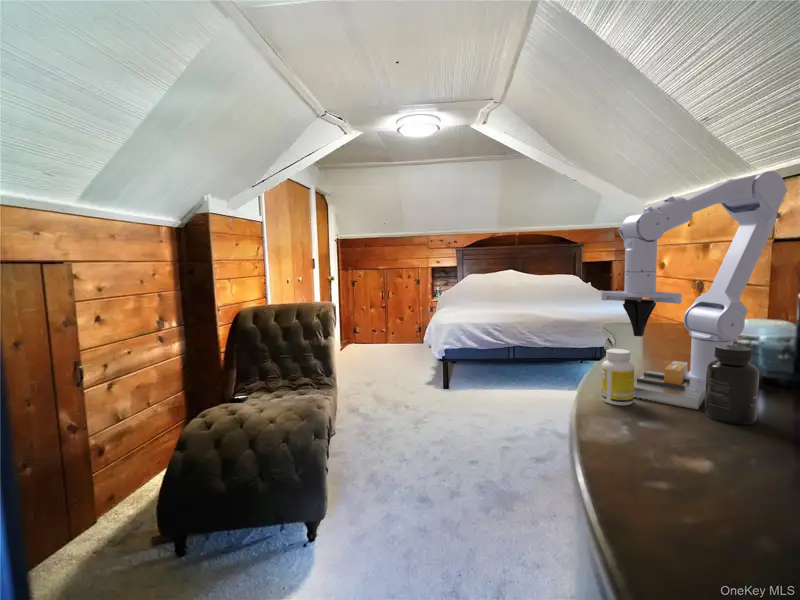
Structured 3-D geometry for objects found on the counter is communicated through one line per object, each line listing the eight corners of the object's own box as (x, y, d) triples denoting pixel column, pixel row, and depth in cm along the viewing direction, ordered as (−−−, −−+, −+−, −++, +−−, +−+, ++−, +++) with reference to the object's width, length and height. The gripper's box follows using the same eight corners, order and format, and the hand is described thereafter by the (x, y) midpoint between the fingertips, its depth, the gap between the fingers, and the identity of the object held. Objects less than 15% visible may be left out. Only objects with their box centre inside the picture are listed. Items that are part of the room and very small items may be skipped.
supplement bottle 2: (766, 426, 65) (771, 352, 63) (717, 424, 66) (721, 352, 65) (740, 410, 71) (744, 343, 70) (696, 409, 73) (699, 343, 72)
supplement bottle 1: (640, 402, 77) (641, 351, 76) (621, 408, 74) (622, 355, 73) (613, 394, 82) (614, 346, 81) (595, 399, 79) (595, 350, 78)
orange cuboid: (668, 379, 83) (669, 363, 83) (683, 381, 81) (683, 365, 81) (664, 383, 80) (664, 368, 80) (679, 386, 78) (679, 370, 78)
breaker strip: (647, 379, 90) (648, 357, 90) (709, 389, 83) (710, 365, 82) (629, 396, 80) (629, 371, 80) (697, 409, 73) (698, 382, 72)
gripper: (597, 272, 88) (596, 334, 89) (677, 272, 78) (675, 342, 79) (607, 270, 93) (606, 329, 94) (684, 270, 83) (682, 336, 84)
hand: (638, 335), depth 87 cm, fingers closed
